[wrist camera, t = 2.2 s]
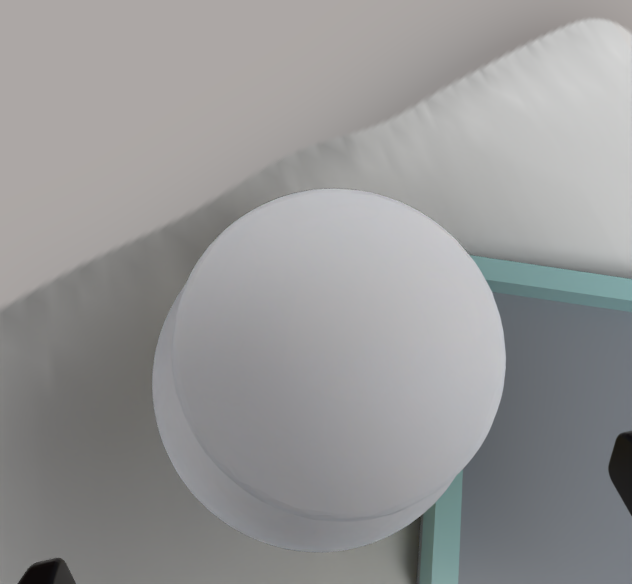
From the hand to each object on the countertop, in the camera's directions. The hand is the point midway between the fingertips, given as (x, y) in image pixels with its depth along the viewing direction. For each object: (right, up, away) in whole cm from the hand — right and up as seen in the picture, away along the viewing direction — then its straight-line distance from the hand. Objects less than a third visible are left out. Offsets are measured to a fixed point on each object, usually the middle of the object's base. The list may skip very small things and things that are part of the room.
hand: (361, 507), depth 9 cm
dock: (+9, -2, +11) cm, 14 cm away
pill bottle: (-1, 0, +10) cm, 10 cm away
